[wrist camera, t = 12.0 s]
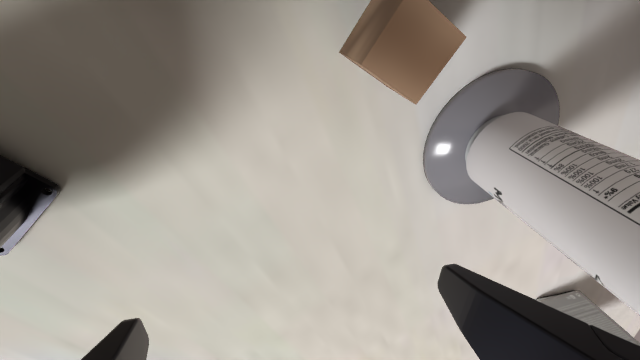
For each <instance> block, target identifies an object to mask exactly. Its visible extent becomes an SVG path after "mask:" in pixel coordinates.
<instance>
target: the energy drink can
mask: <svg viewBox="0 0 640 360" xmlns="http://www.w3.org/2000/svg"><path fill="white" fill-rule="evenodd" d="M465 160H466V169H467V172H468V175H469V177H470V178H471V179H472V180H473V181H474V182H475V183H476V184H477V185H479V186H480V187H481V188H482V189H484V190H485V191H486V192H487V193H489V194H490V195H491V196H492V197H494V198H495V199H496V200H497V201H499V202H500V203H501V204H502V205H503V206H505V207H506V208H507V209H508V210H510V211H511V212H512V213H513V214H515V215H516V216H517V217H518V218H520V219H521V220H522V221H523V222H524V223H526V224H527V225H528V226H529V227H531V228H532V229H533V230H534V231H536V232H537V233H538V234H539V235H541V236H542V237H543V238H544V239H545V240H547V241H548V242H549V243H550V244H552V245H553V246H554V247H555V248H557V249H558V250H559V251H560V252H562V253H563V254H564V255H565V256H566V257H568V258H569V259H570V260H571V261H573V262H574V263H575V264H576V265H578V266H579V267H580V268H581V269H583V270H584V271H585V272H586V273H588V274H589V275H590V276H591V277H592V278H594V279H595V280H596V281H597V282H599V283H600V284H601V285H602V286H604V287H605V288H606V289H607V290H609V291H610V292H611V293H612V294H613V295H615V296H616V297H617V298H618V299H620V300H621V301H622V302H623V303H625V304H626V305H627V306H628V307H630V308H631V309H632V310H633V311H634V312H636V313H637V314H638V315H639V316H640V160H638V159H636V158H633V157H631V156H629V155H626V154H624V153H621V152H619V151H617V150H614V149H612V148H610V147H607V146H605V145H602V144H600V143H598V142H595V141H593V140H591V139H588V138H586V137H583V136H581V135H579V134H576V133H574V132H572V131H569V130H567V129H564V128H562V127H560V126H557V125H555V124H553V123H550V122H548V121H545V120H543V119H541V118H538V117H536V116H533V115H531V114H528V113H525V112H514V113H509V114H506V115H502V116H497V117H495V118H492V119H491V120H489V121H487V122H486V123H484V124H483V125H482V126H481V127H480V128H479V129H478V130H477V131H476V132H475V133H474V134H473V136H472V137H471V139H470V141H469V143H468V145H467V148H466V153H465Z"/></svg>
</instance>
